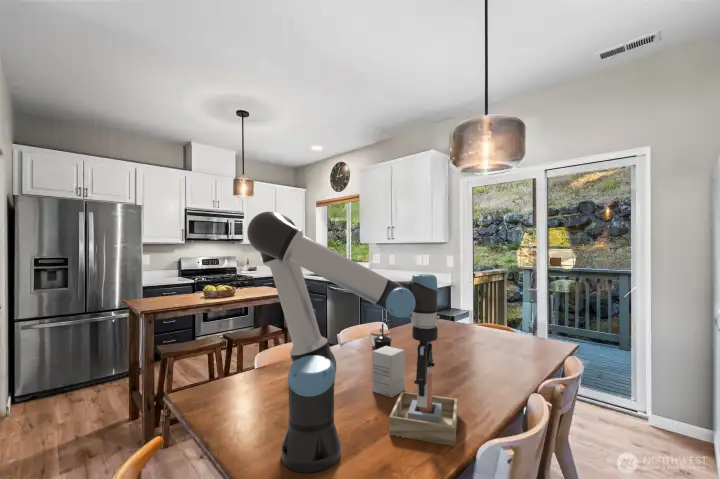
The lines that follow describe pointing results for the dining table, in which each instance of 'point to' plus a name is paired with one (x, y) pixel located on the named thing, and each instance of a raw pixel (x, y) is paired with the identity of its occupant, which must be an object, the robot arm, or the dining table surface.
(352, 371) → the dining table surface
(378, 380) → the supplement box
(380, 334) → the lidded jar
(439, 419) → the socket
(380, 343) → the drinking cup
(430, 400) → the peg
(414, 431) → the crate
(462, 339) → the dining table surface
